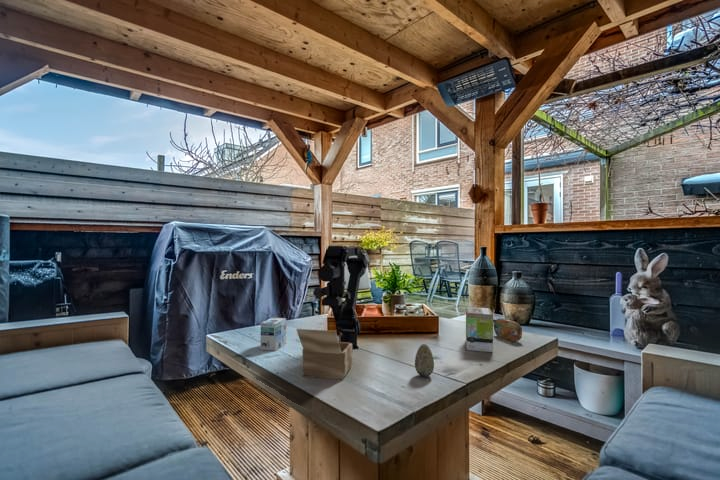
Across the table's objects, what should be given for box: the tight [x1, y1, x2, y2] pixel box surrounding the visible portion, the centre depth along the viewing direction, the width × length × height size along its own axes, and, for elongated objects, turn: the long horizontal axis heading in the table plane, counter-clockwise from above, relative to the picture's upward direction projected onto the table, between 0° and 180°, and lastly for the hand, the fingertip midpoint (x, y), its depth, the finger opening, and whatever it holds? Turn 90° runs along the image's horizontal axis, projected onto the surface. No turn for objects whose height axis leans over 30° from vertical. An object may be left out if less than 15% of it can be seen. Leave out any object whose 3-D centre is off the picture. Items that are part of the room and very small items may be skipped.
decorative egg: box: [414, 343, 435, 378], centre depth 108 cm, size 6×6×10 cm
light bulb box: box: [260, 317, 287, 352], centre depth 141 cm, size 11×7×11 cm, turn 168°
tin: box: [493, 318, 523, 343], centre depth 151 cm, size 15×3×8 cm, turn 17°
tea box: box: [465, 306, 494, 353], centre depth 141 cm, size 15×10×15 cm, turn 164°
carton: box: [301, 342, 353, 380], centre depth 113 cm, size 12×14×8 cm
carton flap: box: [296, 328, 341, 354], centre depth 104 cm, size 10×12×1 cm
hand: (336, 321), depth 127 cm, fingers closed
